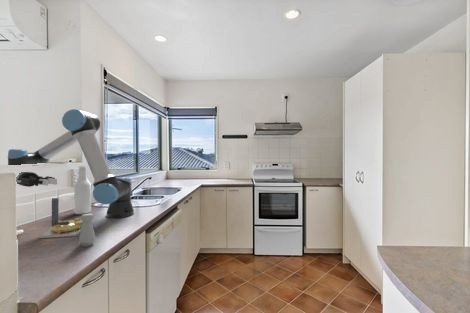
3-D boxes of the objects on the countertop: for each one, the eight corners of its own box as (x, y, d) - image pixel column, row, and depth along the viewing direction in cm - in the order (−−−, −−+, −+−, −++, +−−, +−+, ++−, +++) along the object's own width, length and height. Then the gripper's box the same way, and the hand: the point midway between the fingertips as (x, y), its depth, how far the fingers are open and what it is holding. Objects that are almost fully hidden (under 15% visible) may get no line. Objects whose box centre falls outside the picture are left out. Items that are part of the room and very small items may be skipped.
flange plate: (90, 223, 121) (90, 220, 121) (75, 235, 103) (75, 232, 103) (60, 225, 117) (60, 222, 117) (39, 238, 100) (39, 234, 100)
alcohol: (70, 213, 139) (70, 165, 138) (83, 210, 147) (83, 164, 147) (82, 215, 137) (82, 166, 136) (94, 211, 145) (94, 165, 145)
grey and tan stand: (83, 222, 119) (83, 194, 119) (83, 229, 109) (83, 198, 108) (51, 226, 112) (52, 196, 112) (49, 234, 101) (49, 201, 101)
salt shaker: (86, 241, 97) (86, 211, 97) (98, 242, 96) (98, 212, 96) (75, 247, 91) (75, 215, 91) (88, 248, 91) (88, 216, 90)
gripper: (44, 184, 125) (69, 187, 115) (6, 188, 111) (30, 192, 101) (44, 170, 125) (69, 173, 115) (6, 173, 111) (30, 175, 101)
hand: (51, 182), depth 108 cm, fingers open, 3 cm apart
